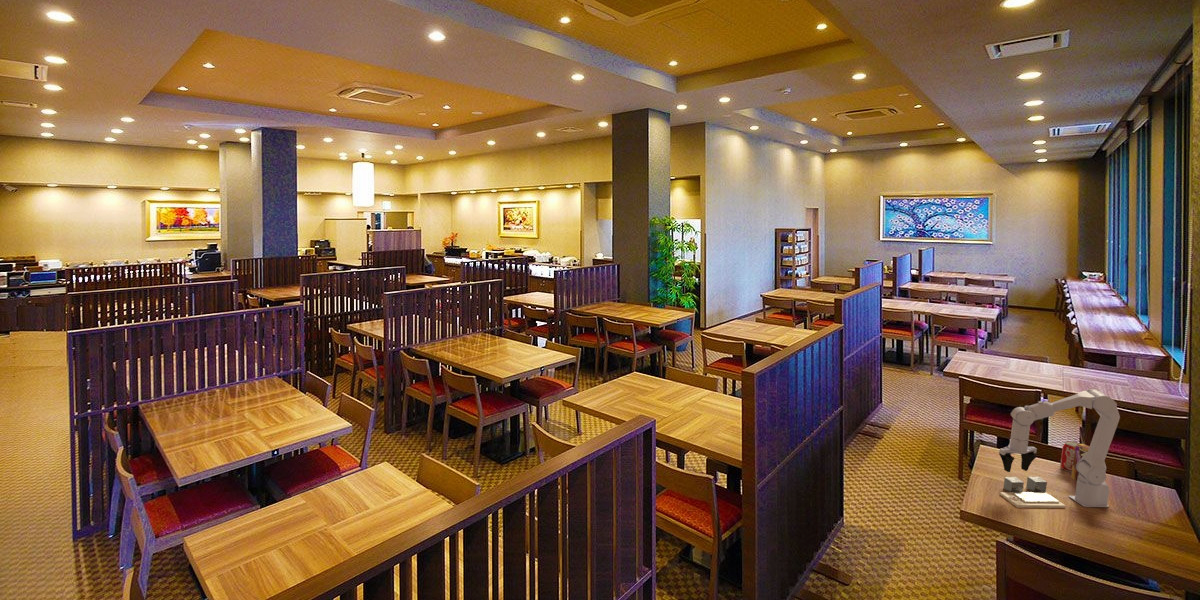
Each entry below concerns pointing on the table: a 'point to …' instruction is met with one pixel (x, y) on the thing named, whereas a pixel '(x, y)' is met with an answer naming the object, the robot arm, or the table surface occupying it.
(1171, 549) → the table surface
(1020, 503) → the scale base
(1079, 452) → the candy box
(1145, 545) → the table surface
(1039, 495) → the white flat slab
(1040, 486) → the spacer
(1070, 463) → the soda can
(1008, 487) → the block
